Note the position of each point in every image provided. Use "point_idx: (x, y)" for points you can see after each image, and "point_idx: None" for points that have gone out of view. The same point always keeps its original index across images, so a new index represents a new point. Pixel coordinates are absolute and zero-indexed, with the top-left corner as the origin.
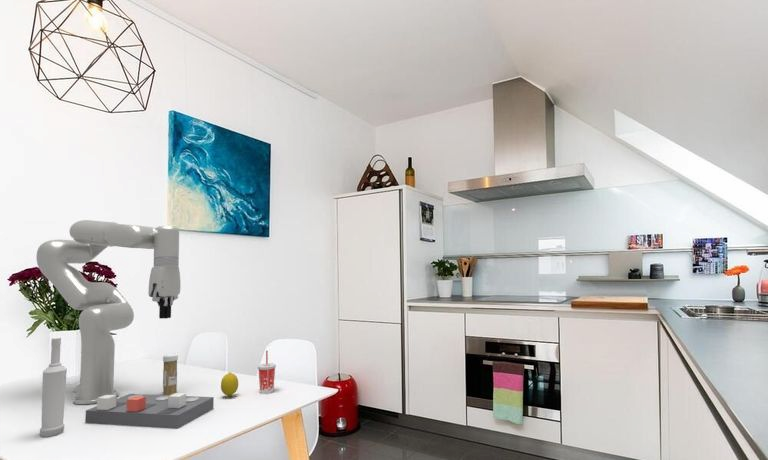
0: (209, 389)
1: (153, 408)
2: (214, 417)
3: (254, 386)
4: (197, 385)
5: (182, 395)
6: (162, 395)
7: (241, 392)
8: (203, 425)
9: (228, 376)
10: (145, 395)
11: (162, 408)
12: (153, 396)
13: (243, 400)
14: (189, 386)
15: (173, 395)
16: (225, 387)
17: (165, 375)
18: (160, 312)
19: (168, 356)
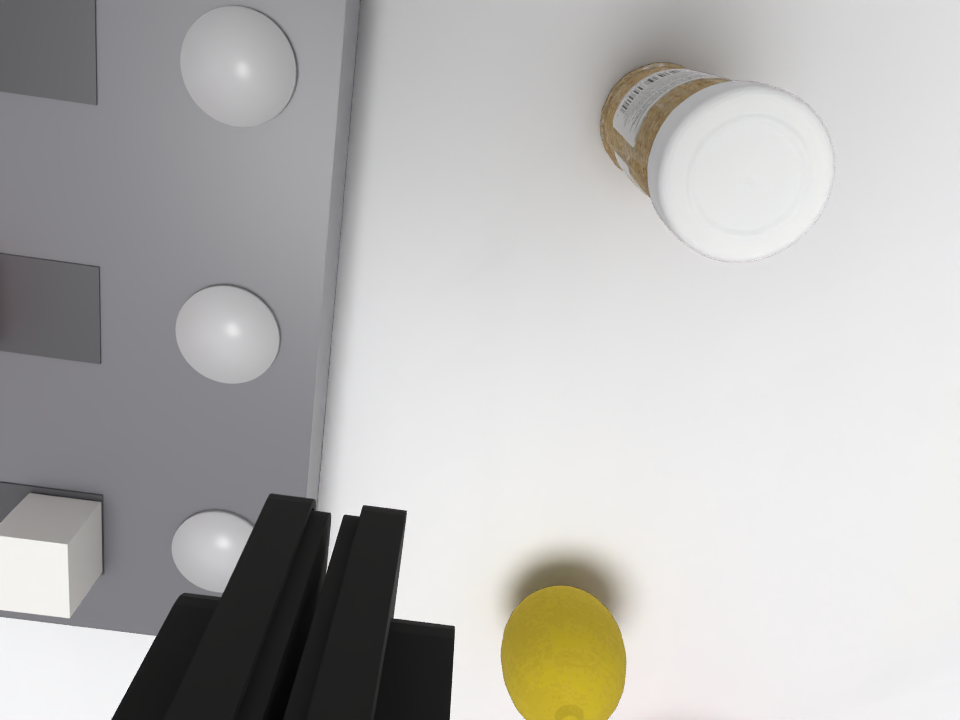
0: (767, 387)
1: (13, 395)
2: None
3: (799, 667)
4: (919, 225)
5: (30, 612)
6: (311, 278)
7: (655, 636)
8: (47, 663)
9: (529, 711)
10: (304, 125)
11: (25, 454)
12: (281, 217)
13: (475, 704)
14: (898, 166)
15: (13, 558)
16: (501, 649)
17: (627, 132)
18: (149, 663)
19: (663, 198)
